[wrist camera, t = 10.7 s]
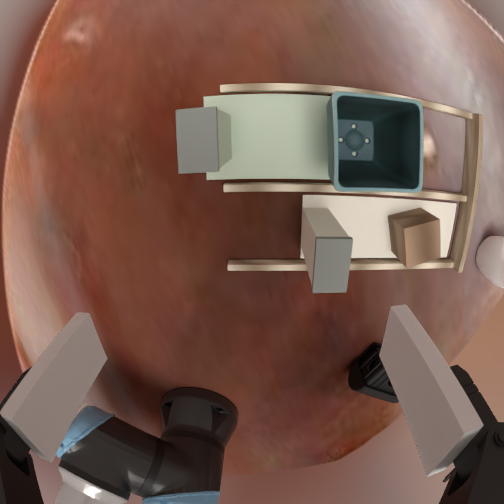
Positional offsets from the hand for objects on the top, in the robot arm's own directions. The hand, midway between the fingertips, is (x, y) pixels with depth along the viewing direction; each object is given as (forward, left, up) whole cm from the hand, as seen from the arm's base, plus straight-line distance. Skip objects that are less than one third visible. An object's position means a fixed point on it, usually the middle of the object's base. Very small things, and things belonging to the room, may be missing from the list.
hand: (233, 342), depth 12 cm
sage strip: (+6, +8, -25) cm, 26 cm away
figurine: (+38, -6, -25) cm, 45 cm away
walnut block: (+20, -3, -24) cm, 31 cm away
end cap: (+21, -27, -25) cm, 42 cm away
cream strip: (+17, -3, -25) cm, 30 cm away
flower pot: (+11, +8, -24) cm, 28 cm away
